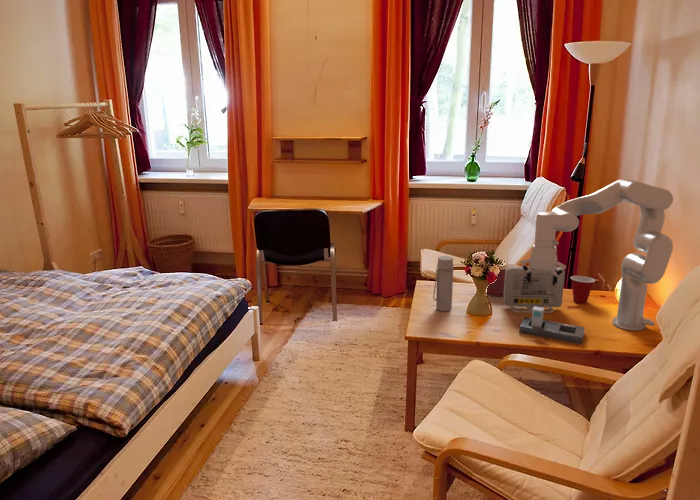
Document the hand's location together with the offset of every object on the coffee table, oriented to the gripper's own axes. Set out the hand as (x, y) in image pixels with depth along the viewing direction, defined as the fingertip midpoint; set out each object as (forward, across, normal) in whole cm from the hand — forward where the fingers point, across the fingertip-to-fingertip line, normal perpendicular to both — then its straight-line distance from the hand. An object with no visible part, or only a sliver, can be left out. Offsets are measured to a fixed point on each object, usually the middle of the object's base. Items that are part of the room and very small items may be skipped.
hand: (541, 283), depth 210 cm
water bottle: (+21, +44, -4) cm, 48 cm away
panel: (+21, -6, 0) cm, 22 cm away
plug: (+21, 0, 0) cm, 21 cm away
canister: (+22, +26, -38) cm, 51 cm away
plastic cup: (+22, -12, -43) cm, 50 cm away
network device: (+22, +6, -23) cm, 32 cm away
